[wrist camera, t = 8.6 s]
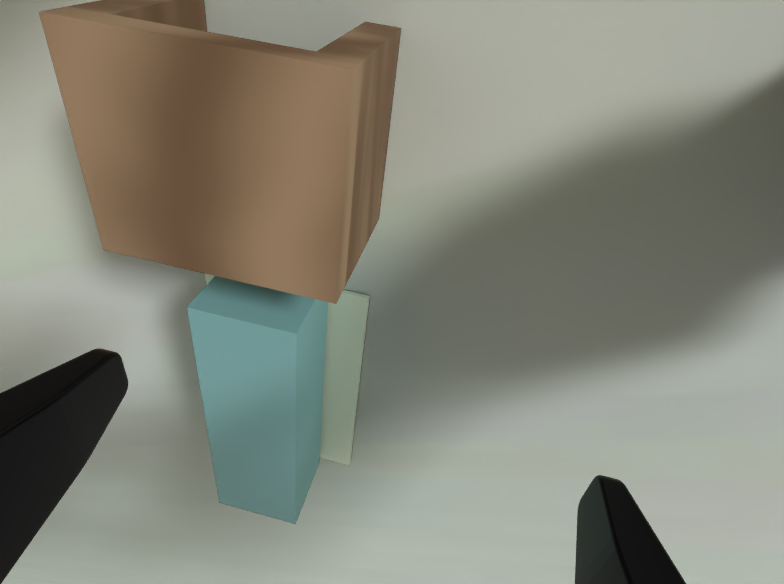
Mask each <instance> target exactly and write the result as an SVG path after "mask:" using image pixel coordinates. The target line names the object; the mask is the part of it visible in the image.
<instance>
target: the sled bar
mask: <svg viewBox="0 0 784 584" xmlns="http://www.w3.org/2000/svg"><path fill="white" fill-rule="evenodd" d="M327 310H328V302H325V301H321V300H317V299H313V298H308V297H304V296H300V295H295V294H291V293H287V292H282V291H278V290H274V289H270V288H265V287H261V286H257V285H252V284H248V283H244V282H239V281H235V280H231V279H227V278H222V277H218V276H214V277H213V278H212V280H211V281H210V282H209V283H208V284H207V285H206V286H205V288H204V289H203V290H202V291H201V292H200V293H199V294H198V295H197V297H196V298H195V299H194V300H193V301H192V302H191V303H190V304H189V306H188V307H187V311H188V317H189V323H190V329H191V335H192V341H193V347H194V353H195V359H196V365H197V371H198V377H199V383H200V389H201V395H202V401H203V407H204V413H205V419H206V425H207V431H208V437H209V443H210V449H211V455H212V461H213V467H214V473H215V479H216V485H217V491H218V497H219V503H222V504H225V505H229V506H233V507H236V508H240V509H243V510H247V511H250V512H254V513H258V514H261V515H265V516H268V517H272V518H276V519H279V520H283V521H286V522H290V523H293V524H296V522H297V519H298V516H299V514H300V511H301V509H302V506H303V503H304V501H305V498H306V496H307V493H308V490H309V488H310V485H311V483H312V480H313V477H314V475H315V472H316V470H317V467H318V464H319V461H320V442H321V423H322V404H323V385H324V367H325V348H326V329H327Z"/></svg>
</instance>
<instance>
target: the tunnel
mask: <svg viewBox="0 0 784 584" xmlns="http://www.w3.org/2000/svg"><path fill="white" fill-rule="evenodd" d="M39 14H40V18H41V22H42V25H43V29H44V33H45V36H46V40H47V44H48V47H49V51H50V55H51V58H52V62H53V66H54V69H55V73H56V77H57V81H58V84H59V88H60V92H61V95H62V99H63V103H64V106H65V110H66V114H67V117H68V121H69V125H70V128H71V132H72V136H73V139H74V143H75V147H76V150H77V154H78V158H79V161H80V165H81V169H82V172H83V176H84V180H85V183H86V187H87V191H88V194H89V198H90V202H91V205H92V209H93V213H94V216H95V220H96V224H97V227H98V231H99V235H100V238H101V242H102V246H103V249H104V250H106V251H110V252H115V253H119V254H123V255H128V256H132V257H136V258H141V259H145V260H149V261H153V262H158V263H162V264H166V265H171V266H175V267H179V268H184V269H188V270H192V271H196V272H201V273H205V274H209V275H214V276H218V277H222V278H227V279H231V280H235V281H239V282H244V283H248V284H252V285H257V286H261V287H265V288H270V289H274V290H278V291H282V292H287V293H291V294H295V295H300V296H304V297H308V298H313V299H317V300H321V301H325V302H330V303H334V304H337V302H338V300H339V298H340V296H341V294H342V292H343V290H344V288H345V286H346V284H347V282H348V280H349V278H350V276H351V274H352V272H353V270H354V268H355V266H356V264H357V262H358V260H359V258H360V256H361V254H362V252H363V250H364V248H365V246H366V244H367V242H368V240H369V238H370V236H371V234H372V232H373V230H374V228H375V226H376V224H377V222H378V220H379V214H380V205H381V196H382V188H383V179H384V171H385V162H386V154H387V145H388V137H389V128H390V120H391V111H392V102H393V94H394V85H395V77H396V68H397V60H398V51H399V43H400V34H401V28H397V27H392V26H386V25H380V24H374V23H369V22H364V23H362V24H361V25H359V26H358V27H356V28H354V29H353V30H351V31H349V32H348V33H346V34H345V35H343V36H341V37H340V38H338V39H336V40H335V41H333V42H332V43H330V44H328V45H327V46H325V47H323V48H322V49H320V50H318V51H317V52H315V51H309V50H304V49H298V48H293V47H287V46H282V45H276V44H271V43H265V42H260V41H254V40H249V39H243V38H238V37H233V36H227V35H222V34H216V33H211V32H207V26H206V16H205V5H204V0H101V1H95V2H90V3H84V4H79V5H73V6H68V7H62V8H57V9H51V10H46V11H40V12H39Z"/></svg>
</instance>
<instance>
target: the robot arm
mask: <svg viewBox="0 0 784 584" xmlns="http://www.w3.org/2000/svg"><path fill="white" fill-rule="evenodd" d="M127 388H128V379H127V375H126V372H125V369H124V365H123V362H122V358H121V356H120V355H119V354H118V353H116V352H113V351H109V350H105V349H94V350H91V351H89V352H87V353H85V354H83V355H81V356H79V357H76V358H74V359H72V360H70V361H68V362H66V363H64V364H62V365H59V366H57V367H55V368H53V369H51V370H49V371H47V372H44V373H42V374H40V375H38V376H36V377H34V378H32V379H30V380H27V381H25V382H23V383H21V384H19V385H17V386H15V387H12V388H10V389H8V390H6V391H4V392H2V393H0V584H1V583H2V582H3V580H4V579H5V577H6V576H7V574H8V573H9V572H10V570H11V569H12V567H13V566H14V565H15V563H16V562H17V560H18V559H19V558H20V556H21V555H22V553H23V552H24V550H25V549H26V548H27V546H28V545H29V543H30V542H31V541H32V539H33V538H34V536H35V535H36V534H37V532H38V531H39V529H40V528H41V526H42V525H43V524H44V522H45V521H46V519H47V518H48V517H49V515H50V514H51V512H52V511H53V510H54V508H55V507H56V505H57V504H58V502H59V501H60V500H61V498H62V497H63V495H64V494H65V493H66V491H67V490H68V488H69V487H70V485H71V484H72V483H73V481H74V480H75V478H76V477H77V476H78V474H79V473H80V471H81V470H82V468H83V467H84V465H85V464H86V462H87V460H88V459H89V457H90V456H91V454H92V452H93V450H94V449H95V447H96V445H97V443H98V442H99V440H100V438H101V436H102V435H103V433H104V431H105V429H106V428H107V426H108V424H109V422H110V420H111V419H112V417H113V415H114V413H115V412H116V410H117V408H118V406H119V405H120V403H121V401H122V399H123V398H124V396H125V394H126V391H127ZM575 584H686V583H685V581H684V579H683V578H682V576H681V575H680V573H679V571H678V570H677V568H676V566H675V565H674V563H673V562H672V560H671V558H670V557H669V555H668V554H667V552H666V550H665V549H664V547H663V546H662V544H661V542H660V541H659V539H658V537H657V536H656V534H655V533H654V531H653V529H652V528H651V526H650V525H649V523H648V521H647V520H646V518H645V517H644V515H643V513H642V512H641V510H640V508H639V507H638V505H637V504H636V502H635V500H634V499H633V497H632V496H631V494H630V492H629V491H628V489H627V488H626V486H625V485H624V484H623V483H622V482H621V481H620V480H618V479H614V478H610V477H606V476H602V475H598V476H596V477H595V478H594V479H593V481H592V482H591V484H590V485H589V487H588V488H587V490H586V492H585V493H584V495H583V496H582V498H581V500H580V502H579V506H578V516H577V542H576V568H575Z"/></svg>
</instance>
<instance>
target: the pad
mask: <svg viewBox="0 0 784 584" xmlns="http://www.w3.org/2000/svg"><path fill="white" fill-rule="evenodd" d="M204 274H205V273H204ZM213 277H214V275H209V274H205V281H206V285H207V284H208V283H209V282H210V281H211V280H212V278H213ZM369 299H370V296H368V295H364V294H359V293H355V292H350V291H346V290H343V292H342V294H341V296H340V298H339V300H338V302H337V304H334V303H330V302H328V310H327V329H326V348H325V367H324V385H323V404H322V423H321V442H320V458H323V459H326V460H330V461H334V462H338V463H342V464H345V465H350V461H351V453H352V444H353V436H354V427H355V419H356V410H357V402H358V393H359V384H360V376H361V367H362V359H363V350H364V342H365V333H366V325H367V316H368V308H369Z"/></svg>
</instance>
